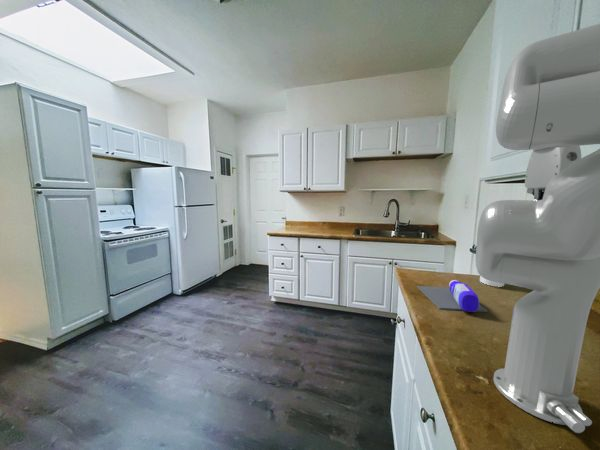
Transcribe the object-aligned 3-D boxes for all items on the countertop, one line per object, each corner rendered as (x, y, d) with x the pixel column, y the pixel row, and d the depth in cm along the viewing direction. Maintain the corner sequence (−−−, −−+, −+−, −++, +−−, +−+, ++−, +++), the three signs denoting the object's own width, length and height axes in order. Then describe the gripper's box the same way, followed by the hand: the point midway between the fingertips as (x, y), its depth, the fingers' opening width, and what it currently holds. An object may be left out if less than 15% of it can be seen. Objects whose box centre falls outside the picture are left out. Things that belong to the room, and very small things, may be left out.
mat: (487, 312, 81) (487, 310, 81) (439, 309, 83) (439, 307, 83) (455, 289, 101) (455, 287, 101) (416, 287, 103) (417, 285, 103)
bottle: (460, 313, 80) (446, 292, 96) (480, 314, 78) (462, 293, 95) (460, 292, 79) (446, 275, 96) (480, 294, 77) (463, 276, 94)
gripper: (607, 136, 51) (591, 219, 53) (543, 149, 66) (533, 214, 68) (569, 136, 52) (555, 218, 54) (514, 149, 66) (505, 213, 69)
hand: (543, 216), depth 61 cm, fingers closed
